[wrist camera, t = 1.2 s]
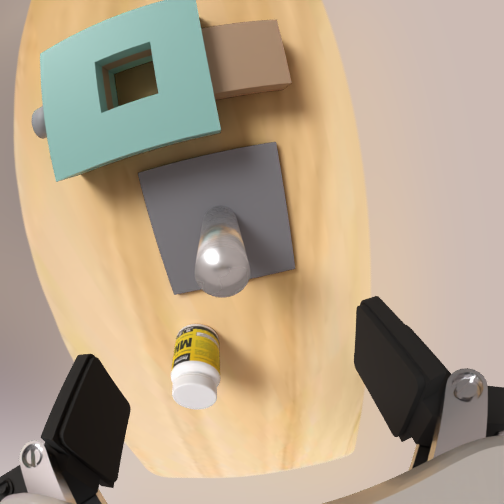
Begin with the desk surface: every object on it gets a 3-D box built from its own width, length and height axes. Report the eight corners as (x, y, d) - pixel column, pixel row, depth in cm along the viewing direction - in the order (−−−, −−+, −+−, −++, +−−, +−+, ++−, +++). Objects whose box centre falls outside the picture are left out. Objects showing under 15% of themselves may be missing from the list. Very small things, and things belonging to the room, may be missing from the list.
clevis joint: (263, 7, 17) (272, -15, 13) (288, 121, 22) (304, 116, 18) (48, 72, 16) (23, 64, 12) (64, 181, 21) (39, 189, 17)
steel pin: (221, 198, 23) (224, 235, 14) (244, 223, 24) (261, 274, 15) (195, 221, 24) (182, 272, 14) (219, 245, 25) (221, 306, 16)
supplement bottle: (189, 315, 28) (183, 373, 20) (227, 334, 29) (232, 392, 22) (169, 343, 29) (159, 400, 21) (204, 360, 30) (204, 417, 23)
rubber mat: (274, 141, 22) (275, 141, 22) (293, 266, 27) (295, 268, 27) (139, 172, 22) (137, 173, 21) (175, 291, 27) (174, 294, 26)
